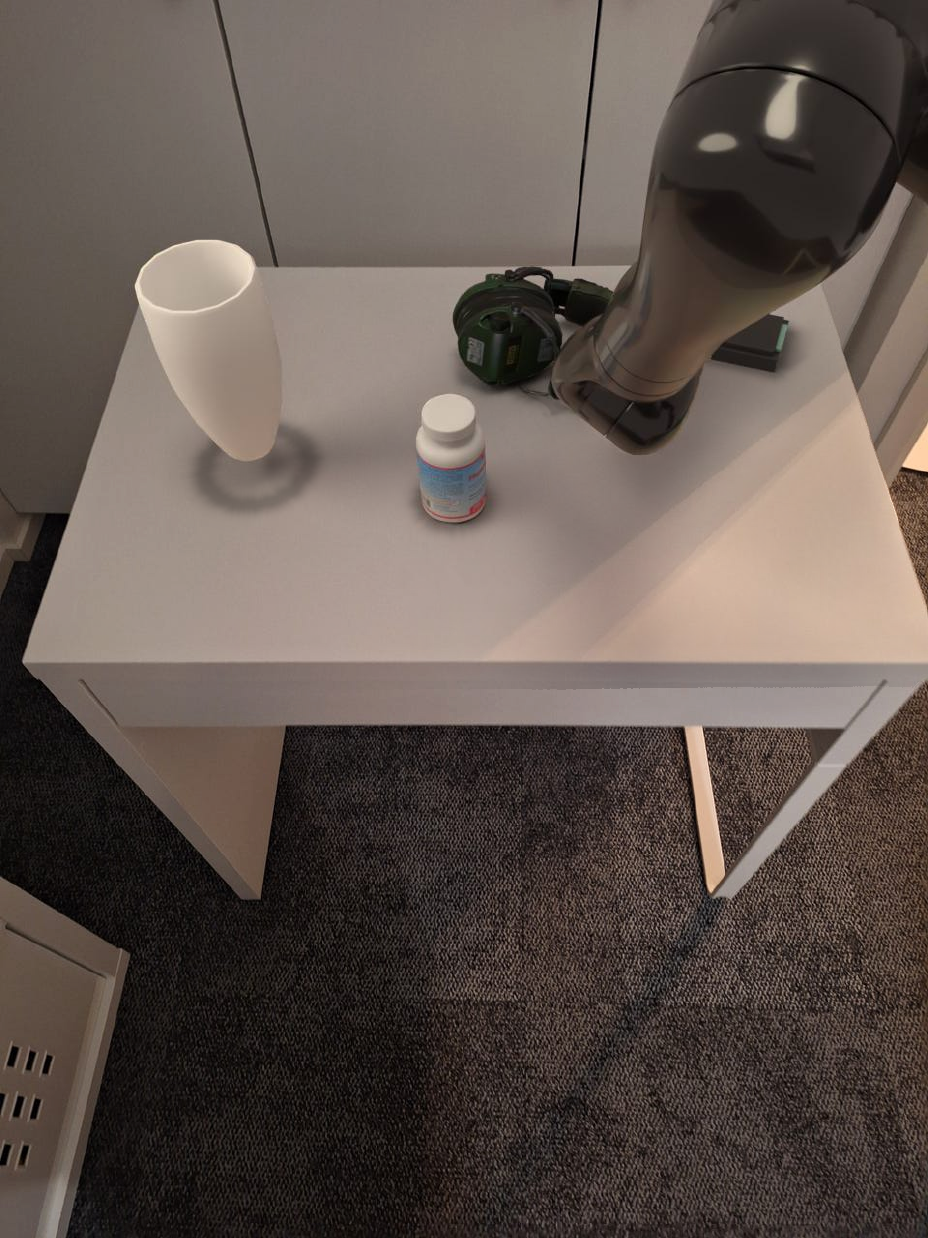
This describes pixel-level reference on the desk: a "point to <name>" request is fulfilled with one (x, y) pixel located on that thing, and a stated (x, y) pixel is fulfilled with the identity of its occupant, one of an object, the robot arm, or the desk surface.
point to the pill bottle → (451, 459)
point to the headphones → (520, 323)
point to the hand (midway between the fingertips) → (802, 172)
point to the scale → (755, 344)
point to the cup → (216, 341)
